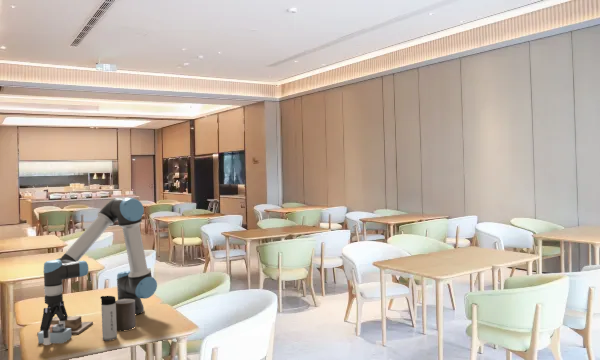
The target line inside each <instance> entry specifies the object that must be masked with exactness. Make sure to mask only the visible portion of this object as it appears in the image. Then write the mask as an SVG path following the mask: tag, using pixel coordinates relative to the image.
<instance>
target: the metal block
mask: <svg viewBox="0 0 600 360" xmlns="http://www.w3.org/2000/svg"><path fill="white" fill-rule="evenodd" d="M53 332H64V324H56V325H54V326H53V327H52V333H53Z"/></svg>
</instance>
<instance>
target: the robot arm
mask: <svg viewBox="0 0 600 360" xmlns="http://www.w3.org/2000/svg"><path fill="white" fill-rule="evenodd" d="M144 212H145V208H144V205H143V204H142V202H141V201H140V200H139V199H136V198H134V197H116V198H112V200H110V201H109V202H107V203H106V205H104V206H103V207H102V208H101V209H100V210H99V211H98V213H97V217H96V218H95V219H94V220H93V221H92V222H91V224H89V226H88V227H87V228H86V229H85V231H83V232H82V234H81V235H80V236H79V237H78V238H77V239H76V240H75V242H74V243H73V244H72V245H70V247H69V248H68V249H67V250H66V252H64V254H63V255H62V256H61V257H59V258H55V259H53V260H52V259H51V260H47V261H45V262H44V264H43V280H44V281H43V282H44V283H43V284H44V285H43V286H44V288H43V289H44V303H45V305H47V307H44V308H43V312H42V313H43V314H42V319H41V324H40V328H39V331H43V336H44V343H43V346H50V345H51V344H52V343H51V342H50V330H49V328H50V325H51V322H52V319H53V318H55V317H58V318H59V320H61V321H59V324H64V328H65V320H67V317H68V313H67V309H66V307H65V301H64V299H63V298H64V297H63V296H64V295H63V281H64V280H70V279H74V278H82V277H86V276H87V275H88V273H89V264H88V262H87V261H85V260H81V259H82V257H83V256H84V255H86V253H87V252H88V251H89V250H90V249H91V247H92V246H93V245H94V244H95V243H96V241H97V240H98V239H99V238H100V237H101V235H103V233H105V232H106V230H107V229H108V228H109V227H111V226H113V225H114V224H115V223H116V222H118V223H117V224H118V227H120V228H122V233H123V238H124V243H125V250H126V255H127V259H128V264H129V265H128V266H129V270H126V271H125V270H124V271H120V272H118V273H117V274H116V286H117V287H116V289H117V300H121V299H134V300H135V314H137V315H139V314H138V313H140V314H142V313H144V311H145V309H144V303H143V302H142V300H143V299H149V298H151V297H152V296H153V295H154V294H155V292H156V291H157V289H158V283H157V280H156V278H154V277H153V276H152V271H151V269H149V268H148V265H147V260H146V255H145V248H144V244H143V238H142V232H141V226H140V225H141V223H142V217H143V215H144ZM141 312H142V313H141ZM55 315H56V316H55Z"/></svg>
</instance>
